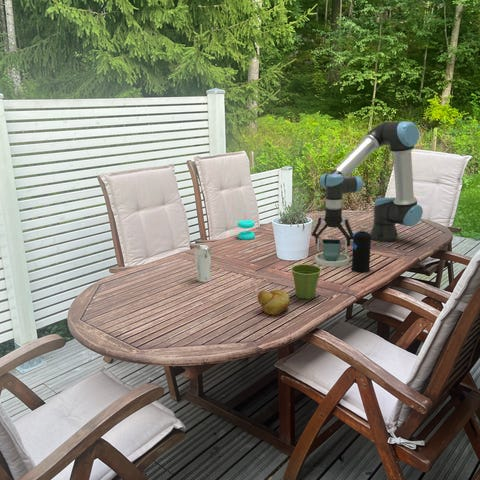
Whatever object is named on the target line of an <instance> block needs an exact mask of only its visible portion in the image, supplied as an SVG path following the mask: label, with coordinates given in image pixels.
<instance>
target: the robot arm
mask: <svg viewBox="0 0 480 480" xmlns="http://www.w3.org/2000/svg"><path fill="white" fill-rule="evenodd" d="M419 139H420V132H419V128H418V126H417V124H415V123H414V122H412V121H404V120H402V121H384V122H381V123H379V124H377V125H375V126H374V127H373V128H372V129H370V130H369V131H368V132H367V133H365V135H364V136H363V137H362V140H361V141H360V142H359V144H357V146H356V147H354V149H352V150H351V152H350V153H349V154H348V155H347V156H345V157H344V159H342V161H340V162H339V163H338V164H337V166H335V168H333V169H332V171H330V173H323V174H322V175H321V176H320V178H319V184H320V186H321V187H322V188H323V189H325V209H324V210H325V213H324V214H325V215H324V217H322V216H319V217H318V220H317V223H316V226H315V227H314V229H313V231H312V233H311V236H312V237H314V238H315V244H316V245H317V247H316V250H317V252H320V251H321V234H322V233H323V232H324V231H326V229H327V228H328V227H329V228H334V229H335V228H337V229H338V230H339V231H340V232H341V234H342V235H343V236H344V237H345V241H344V243H345V244H344V254H346V255H347V253H348V249H349V247H350V246H351V240H353V235H354V234H355V233H354V232H353V230H352V228H351V225H350V223H349V218H348V217H347V218H342V217H343V215H342V213H343V208H342V207H343V195H345V194H352V193H354V194H355V193H357V192H361V191H362V189H363V188H364V181H363V179H362V178H361V176H359V175H358V176H355V175H353V176H350V175H351V174H352V173H353V172H354V171H355V170H356V169H357V168H358V167H359V166H360V165H361V164H362V163H363V162H364V161H365V160H366V158H368V156H370V155H371V153H373V152H374V151H377V150H378V149H379V148H380V147H383V146H389V152H391V153H392V156H393V170H394V171H393V172H394V185H395V186H394V188H395V197H392V196H391V197H380V198H376V199H375V202H374V206H373V207H374V208H373V209H374V210H373V224H372V227H371V231H369V234H370V235H371V236H372V238H371V241H376V242H381V243H382V242H383V243H390V242H396V241H397V240H398V238H399V235H398V231H397V227H396V224H398V225H401V226H405V227H414V226H416V225H418V224H419V222H420V221H421V219H422V217H423V214H424V213H423V211H424V210H423V207H422V206H421V205H420V204H418V199H417V198H416V197H415V195H414V194H415V193H414V179H413V178H414V177H413V176H414V174H413V161H412V159H413V158H412V151H413V150H414V149H415V145H416V144H418V141H419ZM323 222H325V224H324V226H323V227H322V228H321V229H320V230H319V227H320V226H321V224H322V223H323ZM342 223H343V224H345V228H346V230H345V228H344V227H343V225H342ZM318 230H319V231H318ZM317 232H318V233H317Z"/></svg>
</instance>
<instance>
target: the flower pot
mask: <svg viewBox="0 0 480 480" xmlns="http://www.w3.org/2000/svg"><path fill="white" fill-rule="evenodd" d="M321 249H322V252H323V255H324V258H325V260H330V261H336V260H337V259H338V257H339V255H340V253H341V250H342V242H341V239H337V238H336V239H335V238H334V239H333V238H332V239H331V238H323V239H321Z"/></svg>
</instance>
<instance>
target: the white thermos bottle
mask: <svg viewBox="0 0 480 480" xmlns="http://www.w3.org/2000/svg"><path fill="white" fill-rule="evenodd" d="M211 260H212V253H211V246H210V245H207V244H200V245H196V246H195V247H194V262H195V266H196V270H197V276H196V277H197V278H196V281H197V282H199V283H207V282H210V281H211V280H212V278H211V271H210V269H211Z"/></svg>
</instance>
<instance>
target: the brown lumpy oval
mask: <svg viewBox="0 0 480 480" xmlns="http://www.w3.org/2000/svg"><path fill="white" fill-rule="evenodd" d="M257 300H258V303H259V305H260V306H261V308H262V309H261V310H262V311H263V312H264V313H266V314H268V315H271V316H272V315H273V316H274V315H279V314H281V313H282V312H285V311H286V310H288V309H289V306H290V304H291V303H290V302H291V298H290V296H289V295H288V293H287V292H286V291H284V290H281V289H274V290H270V291H266V290H265V291H264V290H261V291H259V292H258V294H257Z"/></svg>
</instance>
